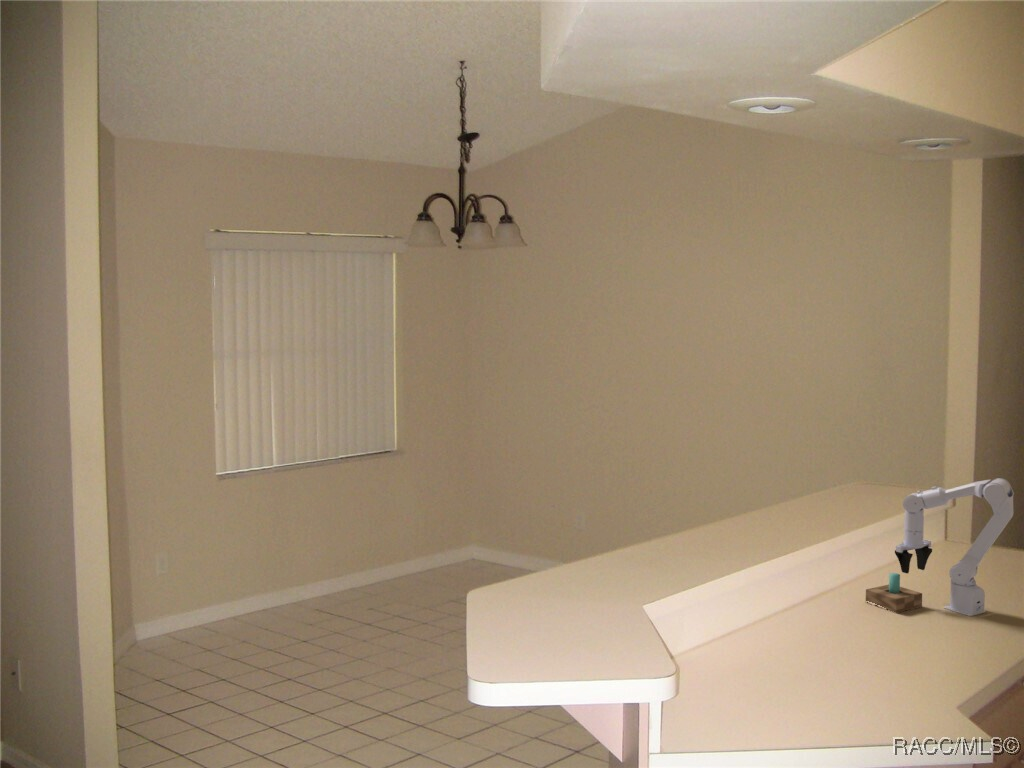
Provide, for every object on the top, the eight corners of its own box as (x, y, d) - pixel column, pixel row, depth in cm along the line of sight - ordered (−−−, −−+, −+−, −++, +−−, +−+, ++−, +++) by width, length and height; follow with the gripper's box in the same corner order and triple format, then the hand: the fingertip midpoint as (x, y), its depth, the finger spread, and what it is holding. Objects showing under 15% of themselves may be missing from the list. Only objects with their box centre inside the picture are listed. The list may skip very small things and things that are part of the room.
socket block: (921, 607, 302) (922, 593, 301) (896, 613, 296) (896, 599, 296) (891, 597, 312) (891, 583, 312) (865, 602, 307) (865, 589, 306)
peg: (901, 602, 304) (902, 575, 303) (894, 603, 302) (895, 576, 301) (893, 599, 306) (894, 572, 306) (886, 601, 305) (887, 574, 304)
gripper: (918, 525, 313) (917, 565, 314) (888, 530, 307) (887, 571, 308) (937, 529, 307) (936, 570, 308) (906, 534, 300) (905, 576, 301)
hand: (913, 571), depth 308 cm, fingers open, 7 cm apart
